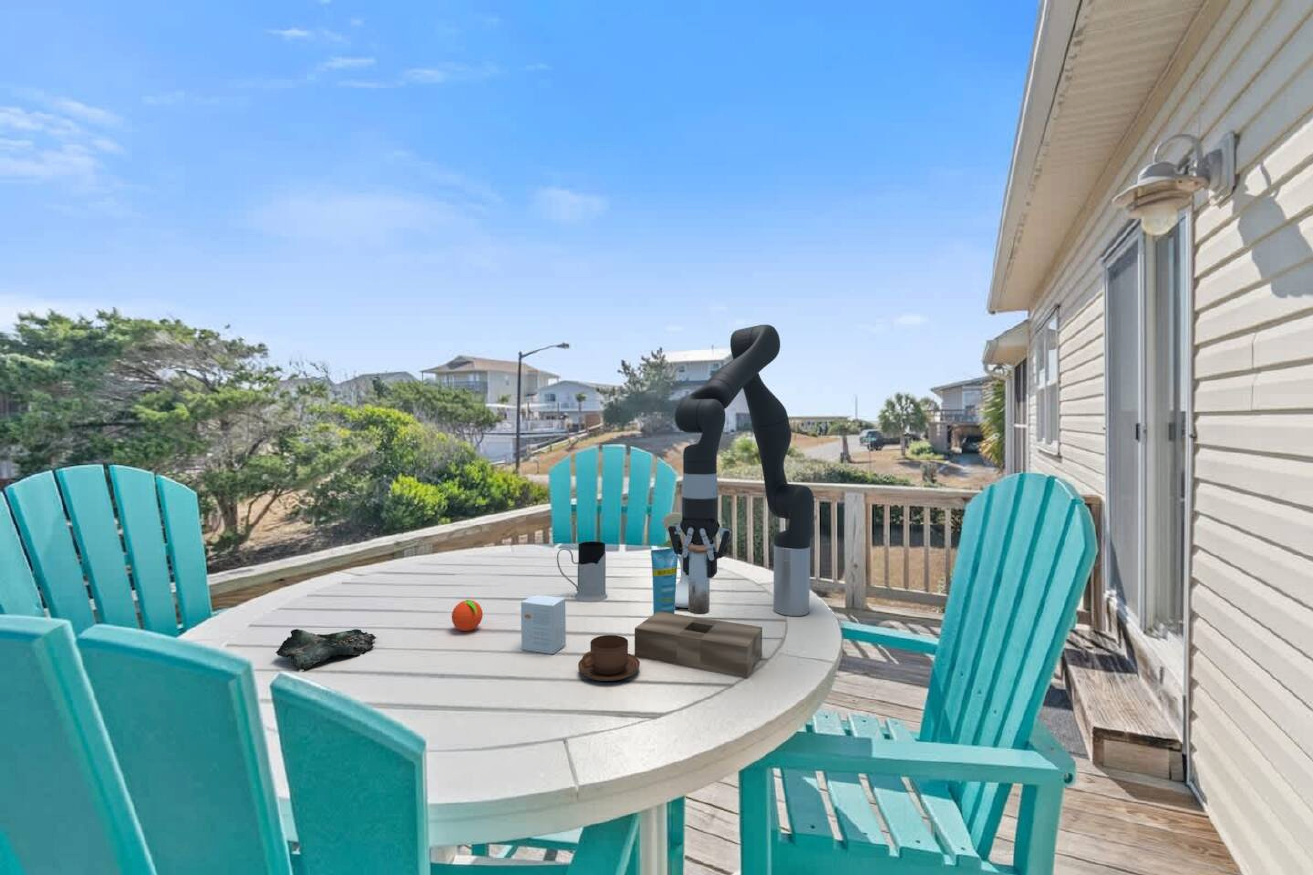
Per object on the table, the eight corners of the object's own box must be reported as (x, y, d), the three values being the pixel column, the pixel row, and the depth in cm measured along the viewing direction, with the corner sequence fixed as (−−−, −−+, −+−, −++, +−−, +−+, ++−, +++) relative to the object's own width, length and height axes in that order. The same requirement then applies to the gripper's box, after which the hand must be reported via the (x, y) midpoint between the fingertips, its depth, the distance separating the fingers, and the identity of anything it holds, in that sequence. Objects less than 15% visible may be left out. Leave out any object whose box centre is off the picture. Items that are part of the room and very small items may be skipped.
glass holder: (605, 602, 155) (605, 547, 154) (553, 601, 155) (553, 547, 154) (608, 592, 163) (608, 541, 163) (559, 592, 163) (559, 540, 163)
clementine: (490, 631, 132) (490, 600, 132) (463, 639, 127) (463, 607, 127) (473, 622, 137) (473, 593, 137) (446, 630, 132) (446, 600, 132)
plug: (692, 606, 121) (692, 540, 121) (713, 609, 119) (714, 542, 119) (684, 612, 117) (684, 544, 117) (705, 615, 115) (706, 546, 115)
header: (657, 637, 129) (658, 611, 128) (761, 655, 119) (762, 627, 119) (634, 656, 118) (634, 628, 118) (746, 678, 108) (747, 647, 108)
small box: (566, 645, 124) (566, 597, 123) (553, 655, 118) (553, 605, 118) (534, 640, 126) (534, 594, 126) (520, 650, 121) (520, 601, 121)
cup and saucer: (615, 692, 102) (615, 659, 102) (565, 677, 108) (565, 645, 108) (651, 669, 112) (651, 638, 112) (603, 655, 118) (603, 626, 118)
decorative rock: (349, 615, 132) (395, 619, 125) (349, 641, 131) (394, 648, 125) (263, 636, 114) (312, 643, 108) (263, 667, 114) (311, 676, 108)
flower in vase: (713, 602, 154) (713, 511, 154) (693, 614, 145) (693, 517, 144) (672, 595, 161) (672, 508, 161) (650, 605, 152) (651, 512, 151)
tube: (656, 634, 130) (657, 551, 130) (645, 628, 135) (646, 547, 134) (682, 628, 135) (683, 548, 134) (671, 622, 139) (671, 544, 138)
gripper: (738, 494, 118) (737, 575, 119) (675, 491, 124) (675, 568, 125) (727, 498, 111) (727, 584, 112) (661, 495, 117) (661, 576, 118)
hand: (699, 575), depth 118 cm, fingers closed on plug, 4 cm apart
